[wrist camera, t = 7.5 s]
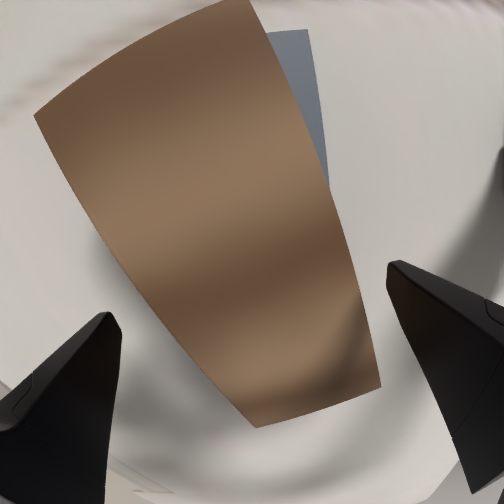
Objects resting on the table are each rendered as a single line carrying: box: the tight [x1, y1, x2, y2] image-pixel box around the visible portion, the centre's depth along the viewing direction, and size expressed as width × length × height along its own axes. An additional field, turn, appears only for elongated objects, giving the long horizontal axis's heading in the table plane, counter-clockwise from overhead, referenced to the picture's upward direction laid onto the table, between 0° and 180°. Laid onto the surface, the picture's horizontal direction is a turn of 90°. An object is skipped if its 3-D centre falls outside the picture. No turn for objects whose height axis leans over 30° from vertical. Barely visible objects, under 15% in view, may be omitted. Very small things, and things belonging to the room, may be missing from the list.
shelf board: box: [34, 0, 381, 428], centre depth 11 cm, size 16×6×3 cm, turn 24°
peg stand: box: [266, 29, 330, 189], centre depth 15 cm, size 17×9×5 cm, turn 10°
